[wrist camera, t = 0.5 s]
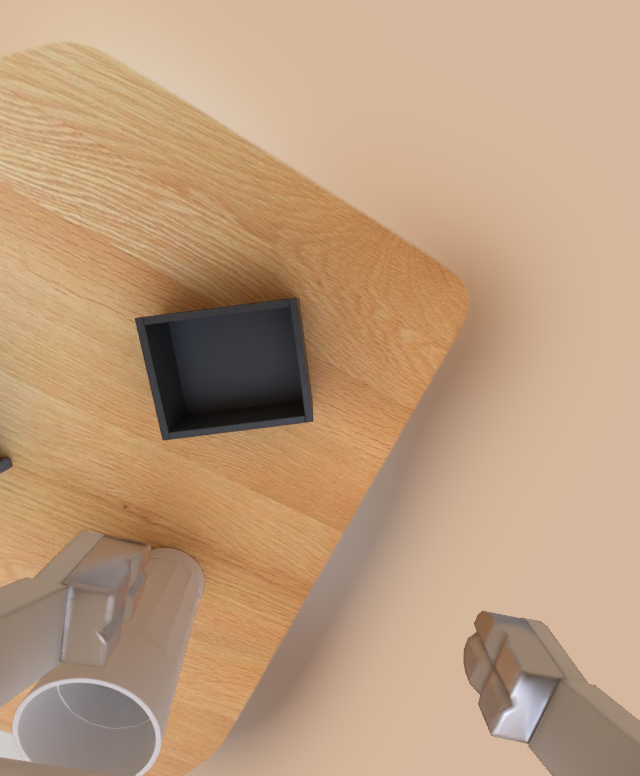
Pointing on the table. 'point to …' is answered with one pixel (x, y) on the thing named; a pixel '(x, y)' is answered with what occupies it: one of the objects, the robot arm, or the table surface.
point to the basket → (227, 368)
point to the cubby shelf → (5, 464)
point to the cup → (118, 683)
